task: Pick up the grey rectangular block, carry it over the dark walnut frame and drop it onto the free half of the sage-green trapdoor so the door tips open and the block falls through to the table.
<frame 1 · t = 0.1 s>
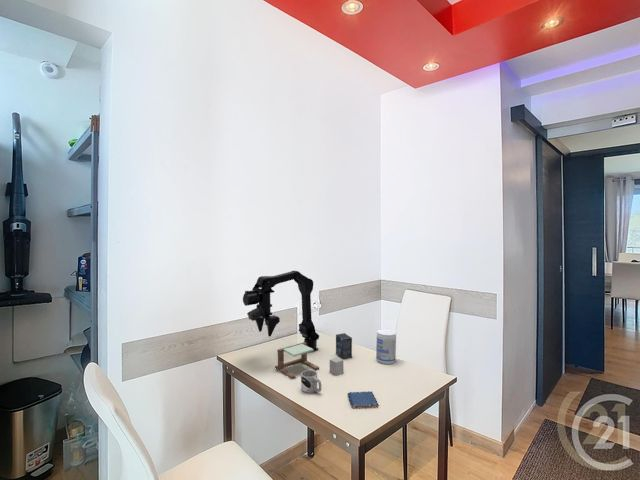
hand: (264, 333, 162), 15 cm above the table, fingers open, 9 cm apart
woven mat: (362, 403, 128), on the table
mug: (312, 391, 136), on the table
supplement tub: (386, 361, 166), on the table
box: (343, 356, 172), on the table
trapdoor: (298, 349, 155), point 10 cm above the table, hinge at 0.0°
frame: (292, 366, 159), on the table
grey rectangular block: (336, 372, 153), on the table
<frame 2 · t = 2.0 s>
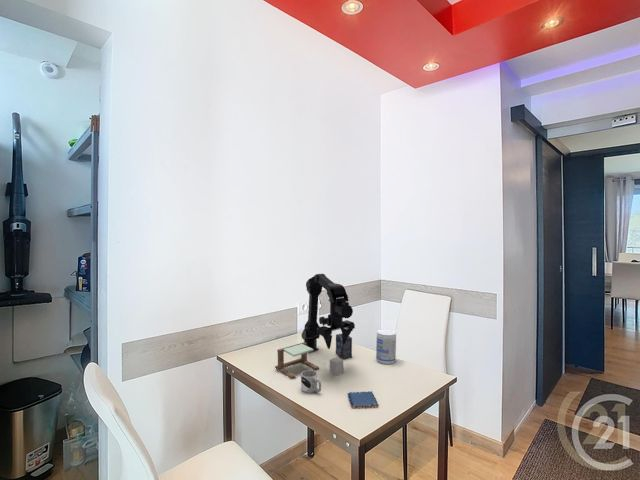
hand: (336, 346, 152), 12 cm above the table, fingers open, 9 cm apart
nothing on the table moved.
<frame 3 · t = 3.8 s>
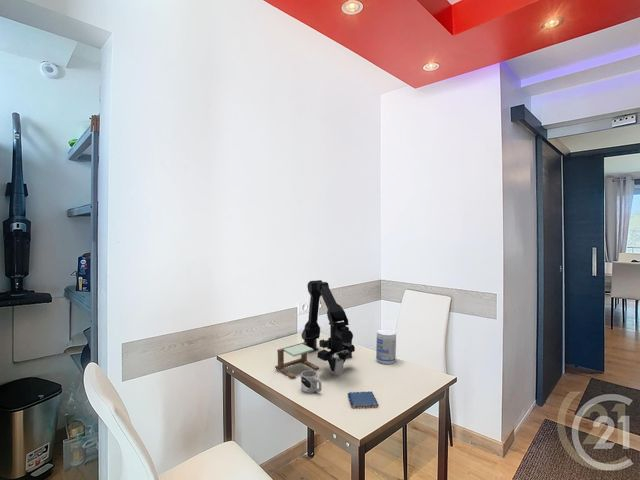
hand: (336, 369, 152), 1 cm above the table, fingers closed on grey rectangular block, 4 cm apart
grey rectangular block: (336, 372, 153), on the table, touching gripper
everything else where it was.
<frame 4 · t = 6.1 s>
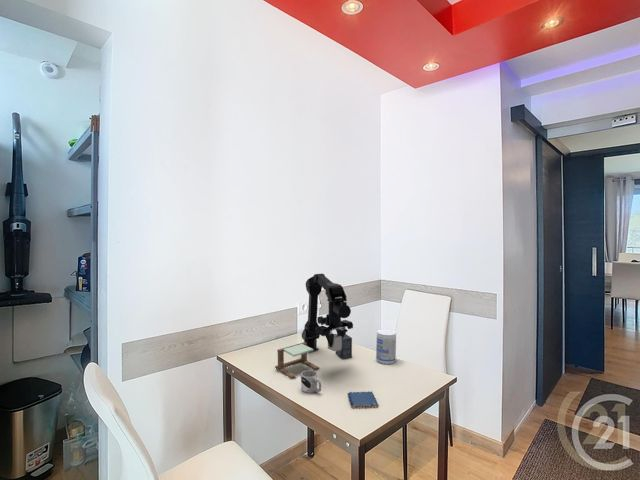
hand: (334, 345, 152), 12 cm above the table, fingers closed on grey rectangular block, 4 cm apart
grey rectangular block: (334, 348, 152), point 11 cm above the table, touching gripper
everything else where it was.
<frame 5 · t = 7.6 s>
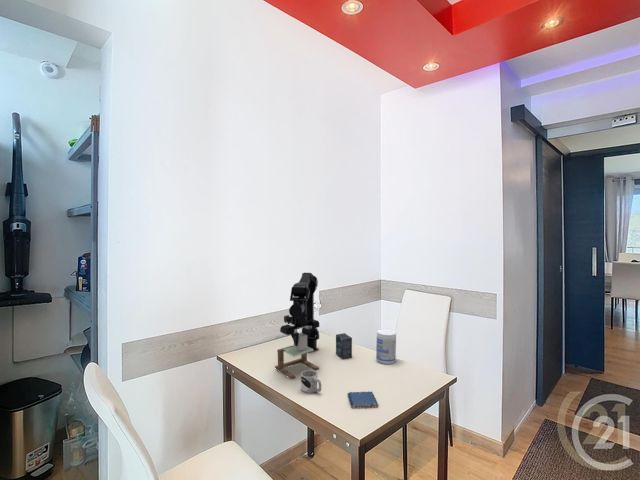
hand: (300, 344, 153), 12 cm above the table, fingers closed on grey rectangular block, 4 cm apart
grey rectangular block: (300, 347, 153), point 11 cm above the table, touching gripper
everything else where it was.
when the fingers open (12 cm above the table, at t = 8.3 s): grey rectangular block drops 2 cm, resting on trapdoor.
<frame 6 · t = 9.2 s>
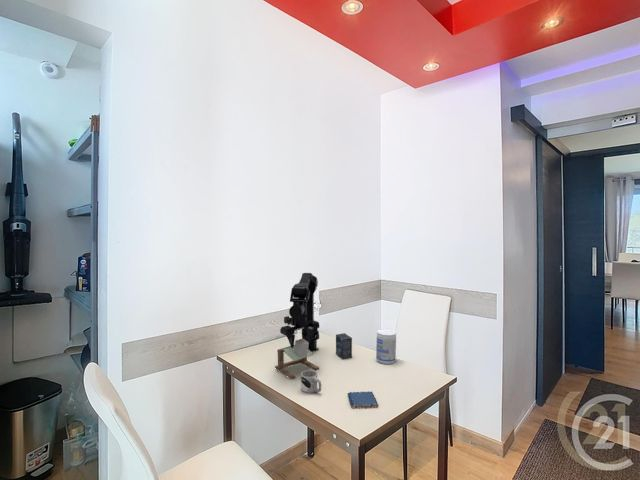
hand: (300, 345, 153), 12 cm above the table, fingers open, 9 cm apart
trapdoor: (298, 352, 155), point 8 cm above the table, hinge at -13.7°, touching grey rectangular block
grey rectangular block: (300, 353, 154), point 8 cm above the table, tilted 14°, touching trapdoor
everything else where it was.
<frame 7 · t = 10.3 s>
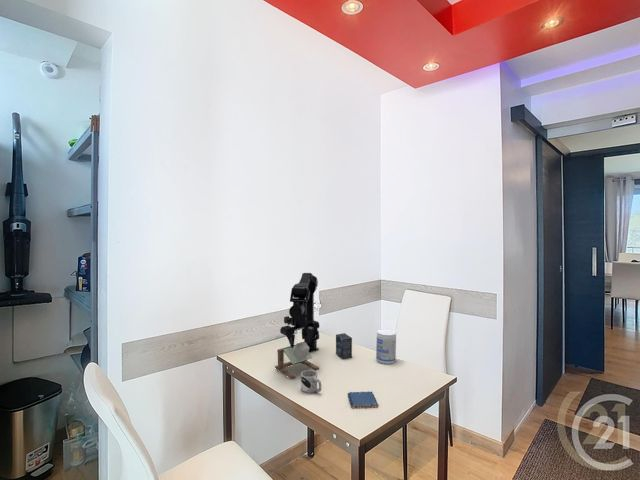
hand: (300, 345, 153), 12 cm above the table, fingers open, 9 cm apart
trapdoor: (297, 353, 155), point 8 cm above the table, hinge at -25.6°, touching grey rectangular block
grey rectangular block: (299, 355, 154), point 7 cm above the table, tilted 26°, touching trapdoor
everything else where it was.
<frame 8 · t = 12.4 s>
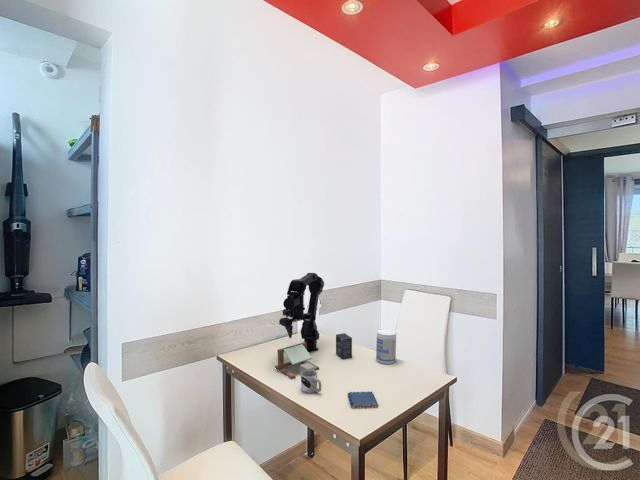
hand: (298, 336, 165), 13 cm above the table, fingers open, 9 cm apart
trapdoor: (297, 354, 155), point 7 cm above the table, hinge at -28.8°
grey rectangular block: (303, 368, 152), point 2 cm above the table, tilted 90°
everything else where it was.
at the end: grey rectangular block point 2.1 cm above the table; grey rectangular block inside the target area (3.5 cm from its centre), point 2.1 cm above the table; the gripper is holding nothing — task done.
